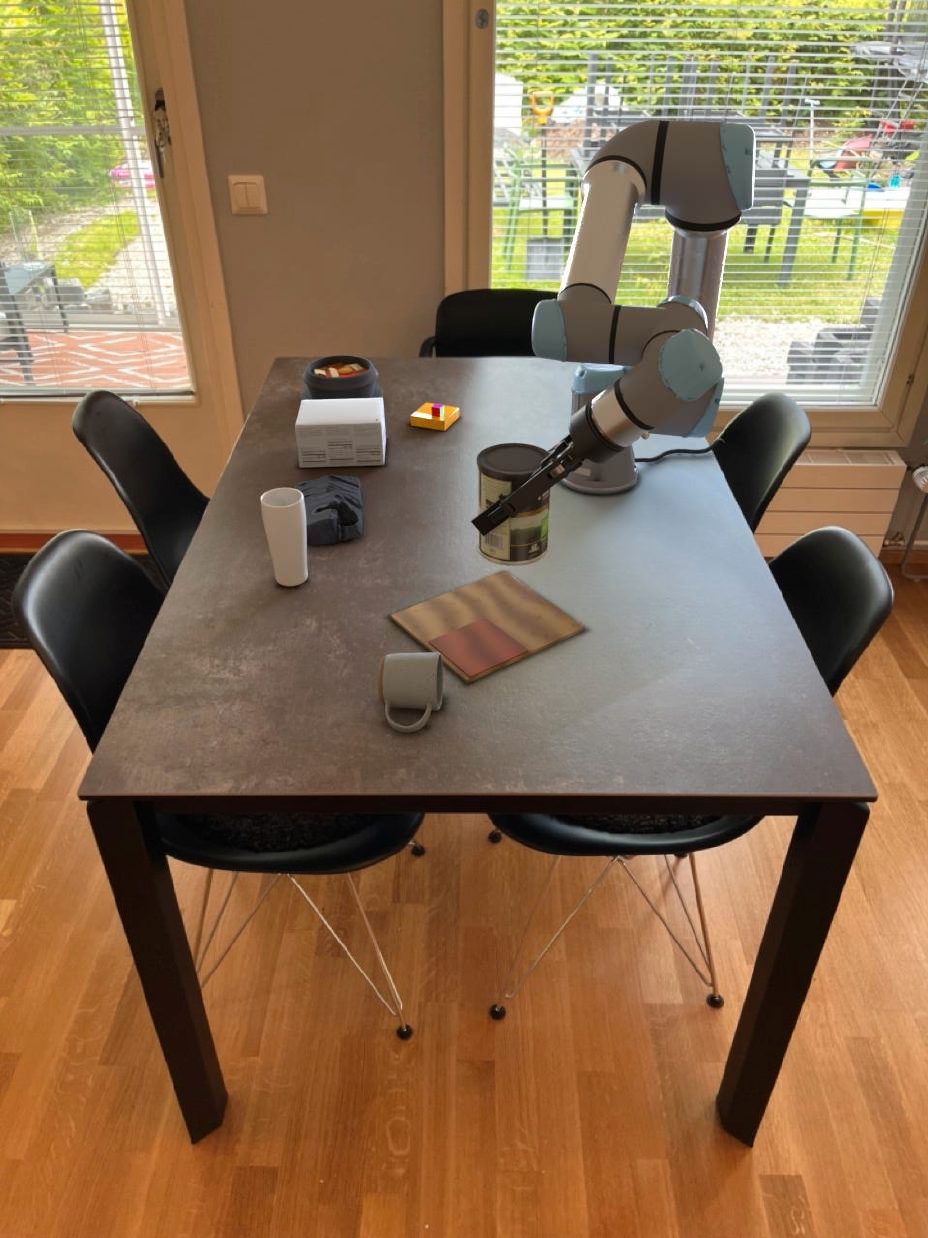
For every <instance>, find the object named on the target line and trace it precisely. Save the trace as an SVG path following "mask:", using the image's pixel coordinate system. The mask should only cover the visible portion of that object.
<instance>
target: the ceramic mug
mask: <svg viewBox="0 0 928 1238" xmlns="http://www.w3.org/2000/svg"><path fill="white" fill-rule="evenodd" d="M379 661H380V662H379V666H378V674H377V693H378V698H379V701H380V703H381V704H382V705H383V706H384V713H385V718H386V721H387V724H389V726H390V727H391V728H392V729H393V730H395V731H397V732H401V733H407V734H408V733H414V732H417V731H419V730H420V729H422V728H423V727H424V726H425V725H426V723H427V722H428V720H429V717H430V716H431V713H432V711H439V710H440V709H441V706H442V702H443V695H444V682H445V681H444V664H443V661H442V655H441V654H440V653H439V652H430V651H429V652H394V653H388V654H386V655H384V656H382V657H381V659H380V660H379ZM390 708H398V709H412V710H423V711H425V712H424V713H423V715H422V717H421V718H419V720H417V721H416V722H415V723H413V724H411V725H407V726H406V725H402V724H400V723H398V722H395V720H393V719H392V718H391V716H390Z"/></svg>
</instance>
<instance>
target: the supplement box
mask: <svg viewBox="0 0 928 1238" xmlns="http://www.w3.org/2000/svg"><path fill="white" fill-rule="evenodd" d="M384 405H385V404H384V398H383V397H381V398H358V399H324V400H301V401H300V405H299V409H298V413H297V417H296V421H295V424H294V430H295V431H294V432H295V438H296V440H295V441H296V447H297V456H298V457H297V458H298V466H299V468H331V467H332V468H333V467H335V468H337V467H366V466H369V467H371V466H384V465H385V458H386V445H387V433H386V420H385V408H384V407H385V406H384Z"/></svg>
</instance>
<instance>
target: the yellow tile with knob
mask: <svg viewBox="0 0 928 1238" xmlns="http://www.w3.org/2000/svg"><path fill="white" fill-rule="evenodd" d="M459 418H460V407H457V406H451V405H445V404H440V403H431V402H425V403H424V404H422V405H421V406H420V407H419V408H417V410H415V411H414V412H413V413H412V414H410V426H413V427H419V428H424V429H430V430H431V429H432V430H437V431H443V432H445V431H447V429H448V428H450V426H451V425H453V424H454V422H456V421H457V420H458V419H459Z"/></svg>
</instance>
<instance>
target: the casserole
mask: <svg viewBox="0 0 928 1238" xmlns="http://www.w3.org/2000/svg"><path fill="white" fill-rule="evenodd" d="M378 377H379V372H378V370H377V369H376V368H375V365H374V364H373V362H372V361H371V360H370V359H367V358H365V357H362V356H358V355H348V354H347V355H346V354H345V355H344V354H343V355H342V354H341V355H340V354H339V355H330V356H325V357H321V358H317V359H314V360H312V361H311V362H308V363H307V365H306V367H305V370H304V373H303V374H302V376H301V380H302V382H303V383H304V384H305V385H306V387H305V388H304V389H303V390H302V391H301V392H300V395H299V396H300V400H301V401H302V400H324V399H358V398H383V395H384V390H383V389H382V387H381V386H380V385H379V384H377V383H376V381H377V379H378Z"/></svg>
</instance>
